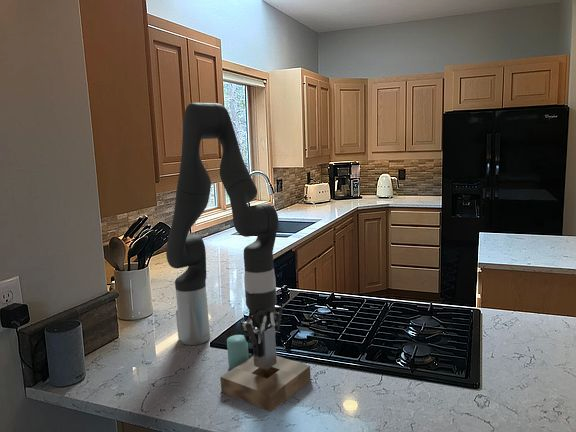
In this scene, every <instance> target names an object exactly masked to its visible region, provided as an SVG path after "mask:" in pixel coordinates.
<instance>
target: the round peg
mask: <svg viewBox="0 0 576 432" xmlns="http://www.w3.org/2000/svg"><path fill="white" fill-rule="evenodd" d="M226 348H227V361H228V362H227V363H228V369H229V371H231V370H232V369H234V368H235V367H237V366H239V365H240V364H242V363H243V362H245V361H247V360H248V359H250V356H249V348H248V342H246V340H245V337H244V334H234V335H231V336H229V337H228V338H227V339H226Z"/></svg>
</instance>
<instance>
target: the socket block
mask: <svg viewBox="0 0 576 432" xmlns="http://www.w3.org/2000/svg"><path fill="white" fill-rule="evenodd" d="M276 359H277V363H276V364H275V365H274V366H272V367H271V368H269V369H268V370H265V369H262V368H259V367H256V366H254V355H253V356H251V357H249V359H248V360H247V361H245V362H243V363H242V364H240V365H239V366H237V367H235V368H234V369H232V370H228V371H227V372H225V373H224V374H223V375H221V376H220V390H221V391H220V392H222V393H224V394H227V395H228V396H231V397H233V398H237V399H239V400H241V401H244V402H246V403H249V404H252V405H254V406H256V407H259V408H262V409H265V410H267V411H269V412H273V411H274V410H276V409H277V408H279V406H281V405H282V404H283V403H285V402H286V401H287V400H288V399H290V398H291V397H292V396H294V395H295V394H296V393H297V392H298V391H299V390H301V389H302V388H303V387H304V386H306V385H307V384H309V382H311V365H309V364H305V363H302V362H299V361H295V360H291V359H289V358H285V357H282V356H279V355H276Z"/></svg>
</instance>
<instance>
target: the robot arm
mask: <svg viewBox="0 0 576 432" xmlns="http://www.w3.org/2000/svg"><path fill="white" fill-rule="evenodd" d="M234 128H235V127H234V125H233V121H232V119H231V116H230V114H229V112H228V109H227V108H226V107H225V106H224V105H223V104H221V103H219V102H218V103H217V102H191V103H189V104H188V105H187V106H186V108H185V110H184V115H183V119H182V139H181V140H182V141H181V157H180V165H179V173H178V179H177V186H176V192H175V203H174V210H173V211H174V212H173V216H172V220H171V221H172V223H171V226H170V230H169V234H168V238H167V243H166V248H165V249H166V250H165V254H166V256H165V257H166V261H167V264H169V266H170V268H173V269H183V268H186V270H185V271H184V272H183V273H182V274H181V275H179V276H177V277H176V279H175V281H174V286H175V288H174V289H175V296H176V306H177V309H176V311H175V316H176V325H177V326H176V327H177V336H178V340H180V343H181V344H183V345H187V346H196V345H197V346H198V345H201V344H204V343H206V342H208V341H209V340H210V339H211V331H210V320H209V319H210V317H209V309H208V308H209V307H208V306H209V305H208V297H207V296H208V294H207V285H206V284H207V283H206V282H207V281H206V280H207V251H206V245H205V242H204V239H203V238H202V236H200V235H198V234H190V235H189V232H190V231H191V229H192V227H193V226H194V225H195V224H196V222H197V221H198V220H199V218H200V217H201V216H202V214H203V213H204V211H205V210H206V208H207V206H208V204H209V199H210V193H211V190H212V181H211V177H210V175H209V173H208V171H207V169H206V167H205V165H204V163H203V162H202V159H201V156H200V148H201V147H200V145H201V141H202V140H209V139H216V140H218V142H219V143H220V145H221V147H222V154H221V161H220V164H219V176H220V180H221V183H222V185H223V188H224V189H225V192H226V193H227V195H228V196H227V197H228V198H229V201H230V206H231V207H230V208H231V213H232V222H233V226H234V229H235V231H236V232H237V233H238V234H239V235H241V236H242V237H246V238H247V237H249V238H250V237H253V236H256V239H255V241H254V242H251V243H249V244H248V245H247V246H245V247H244V249H243V264H244V275H243V276H244V277H243V278H244V280H243V281H244V292H245V293H244V294H245V306H246V308H247V309H248V316H247V319H246V320H245V321H241V322H240V328H241V331H242V335H244V337H245V340H246V342H248V343H252V344H253V348H252V351H253V353H254V355H255V356H256V357H259V358H261V357H262V356H263V350H262V343H261V342H262V334H263V331H264V330H265V326H268V325H270V326H273V325H274V326H275V334H277V333H276V331H279V330H280V328H281V323H282V322H281V321H282V316H283V306H280V305H277V303H278V302H277V286H276V285H277V283H276V274H275V268H274V267H275V266H274V254H273V253H274V247H275V242H276V237H277V233H278V227H279V215H278V213H277V210H276V209H275V208H274V206H273V205H272V204H270V203H260V204H254V205H248V204H249V203H250V202H252V201H253V200H254V199H255V198H256V197H257V195H258V188H257V187H256V183H254V180H253V178H252V175H251V173H250V172H249V170H248V167H247V166H246V163H245V162H244V159H243V158H244V157H243V156H242V152H241V149H240V146H239V142H238V138H237V135H236V132H235V129H234ZM275 321H276V322H275ZM255 327H256V328H259V329H260V330H256V328H255ZM256 333H257V334H258V337H257V338H256ZM254 355H253V356H254Z"/></svg>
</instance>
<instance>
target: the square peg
mask: <svg viewBox="0 0 576 432" xmlns="http://www.w3.org/2000/svg"><path fill="white" fill-rule="evenodd" d="M255 328H256V327H255ZM256 330H260V329H259V328H256ZM257 337H258V334H257V333H256V338H257ZM261 343H262V350H263V356H262V357H261V358H259V357H256V356H255V355H254V353H253V356H254V366H256V367H259V368H262V369H265V370H268V369H269V368H271V367H272V366H274V365H275V364H276V363H277V359H276V356H277V346H276V345H277V343H276V333H275V326H274V325H273V326H270V325H268V326H265V330H264V331H263V334H262V342H261Z"/></svg>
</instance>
